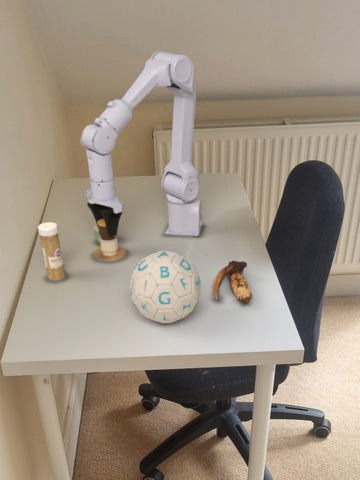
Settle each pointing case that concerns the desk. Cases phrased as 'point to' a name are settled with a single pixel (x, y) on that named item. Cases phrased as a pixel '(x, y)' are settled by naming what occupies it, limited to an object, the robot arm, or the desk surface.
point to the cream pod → (109, 246)
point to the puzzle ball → (165, 287)
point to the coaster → (120, 253)
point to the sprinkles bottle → (51, 250)
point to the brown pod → (103, 230)
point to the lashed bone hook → (234, 281)
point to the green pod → (96, 233)
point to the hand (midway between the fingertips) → (107, 232)
